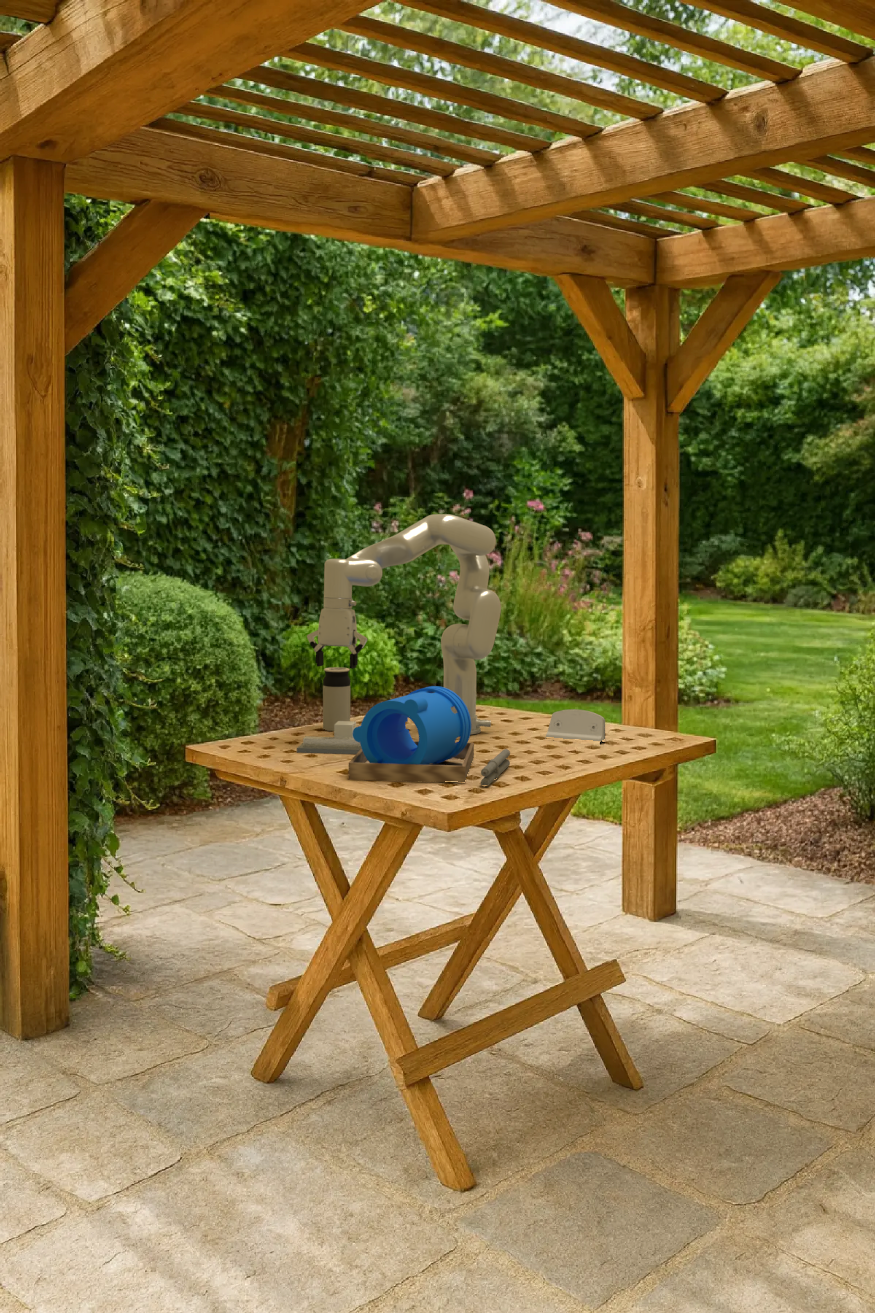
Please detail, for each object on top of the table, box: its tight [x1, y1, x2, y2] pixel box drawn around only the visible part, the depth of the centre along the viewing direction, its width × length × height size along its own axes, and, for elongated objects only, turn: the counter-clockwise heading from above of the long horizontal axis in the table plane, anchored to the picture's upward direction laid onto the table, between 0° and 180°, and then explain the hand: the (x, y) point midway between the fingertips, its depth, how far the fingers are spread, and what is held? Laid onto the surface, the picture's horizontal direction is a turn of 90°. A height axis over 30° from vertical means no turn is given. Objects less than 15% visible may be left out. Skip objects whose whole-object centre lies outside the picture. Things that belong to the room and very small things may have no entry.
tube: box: [353, 685, 472, 765], centre depth 298 cm, size 25×22×19 cm
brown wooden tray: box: [348, 740, 475, 783], centre depth 300 cm, size 28×32×4 cm
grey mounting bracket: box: [545, 708, 606, 741], centre depth 341 cm, size 17×5×10 cm, turn 66°
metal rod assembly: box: [480, 748, 511, 786], centre depth 291 cm, size 26×3×5 cm, turn 166°
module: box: [333, 720, 357, 738], centre depth 335 cm, size 5×6×5 cm
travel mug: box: [322, 666, 351, 732], centre depth 354 cm, size 8×8×18 cm
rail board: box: [296, 735, 361, 755], centre depth 323 cm, size 22×10×3 cm, turn 85°
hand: (336, 667), depth 330 cm, fingers open, 9 cm apart
